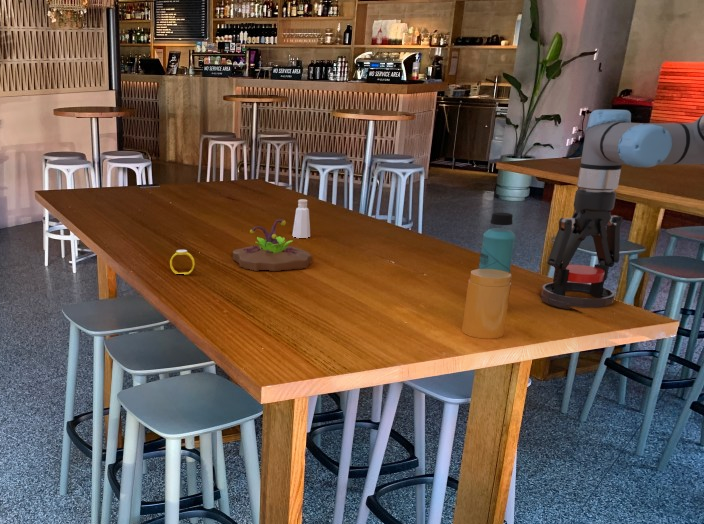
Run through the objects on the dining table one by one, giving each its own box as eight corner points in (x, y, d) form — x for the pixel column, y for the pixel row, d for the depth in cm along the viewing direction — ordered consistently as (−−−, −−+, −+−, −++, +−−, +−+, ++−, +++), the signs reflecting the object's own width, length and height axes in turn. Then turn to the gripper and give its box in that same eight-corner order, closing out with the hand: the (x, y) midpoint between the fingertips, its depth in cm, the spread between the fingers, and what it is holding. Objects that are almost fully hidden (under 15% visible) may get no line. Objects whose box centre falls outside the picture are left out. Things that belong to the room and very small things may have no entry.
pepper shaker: (302, 234, 241) (304, 197, 237) (314, 237, 237) (316, 200, 233) (288, 236, 238) (290, 199, 234) (299, 239, 234) (301, 201, 230)
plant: (320, 269, 199) (323, 225, 195) (244, 273, 196) (245, 227, 192) (298, 252, 217) (300, 211, 213) (228, 255, 214) (229, 213, 210)
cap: (548, 274, 171) (549, 266, 170) (583, 272, 173) (584, 263, 172) (576, 284, 163) (578, 275, 162) (612, 281, 165) (614, 272, 165)
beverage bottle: (488, 302, 171) (501, 209, 164) (512, 310, 166) (527, 214, 158) (465, 306, 169) (478, 211, 161) (489, 314, 163) (503, 216, 156)
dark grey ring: (627, 309, 166) (630, 296, 165) (569, 315, 162) (572, 301, 161) (580, 292, 178) (582, 279, 177) (526, 297, 175) (528, 284, 174)
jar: (511, 336, 149) (521, 276, 145) (476, 340, 148) (485, 279, 143) (487, 325, 156) (496, 267, 152) (453, 328, 154) (461, 270, 150)
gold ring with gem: (195, 273, 196) (195, 249, 194) (193, 276, 193) (193, 252, 191) (171, 272, 197) (171, 249, 194) (169, 275, 194) (169, 251, 192)
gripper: (626, 185, 167) (605, 289, 176) (539, 189, 162) (522, 296, 170) (654, 189, 160) (631, 297, 169) (564, 194, 155) (545, 305, 164)
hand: (576, 296), depth 170 cm, fingers closed on cap, 9 cm apart
